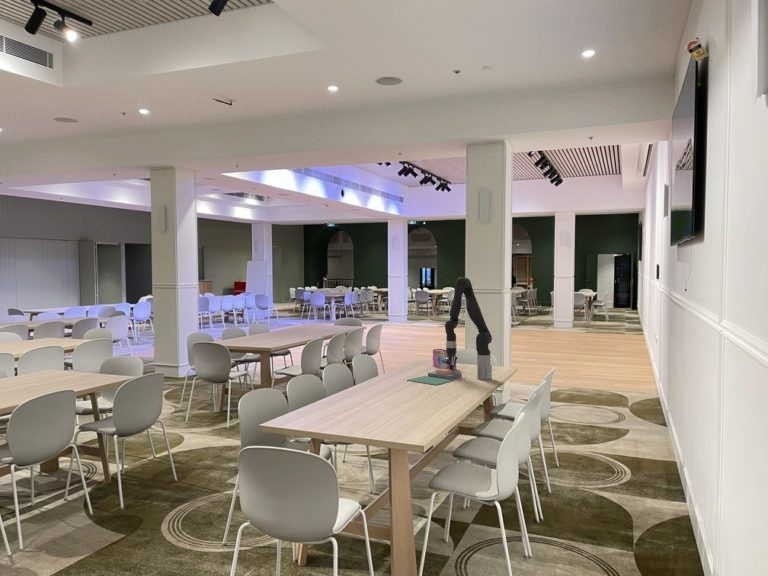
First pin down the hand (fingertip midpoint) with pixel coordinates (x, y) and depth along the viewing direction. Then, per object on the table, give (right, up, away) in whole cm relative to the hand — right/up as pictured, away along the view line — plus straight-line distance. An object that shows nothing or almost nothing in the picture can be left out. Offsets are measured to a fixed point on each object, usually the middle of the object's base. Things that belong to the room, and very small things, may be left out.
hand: (451, 370), depth 419 cm
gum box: (-2, -3, +33) cm, 33 cm away
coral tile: (-6, -1, -7) cm, 10 cm away
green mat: (-17, -5, -19) cm, 26 cm away
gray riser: (-6, -4, -6) cm, 9 cm away
